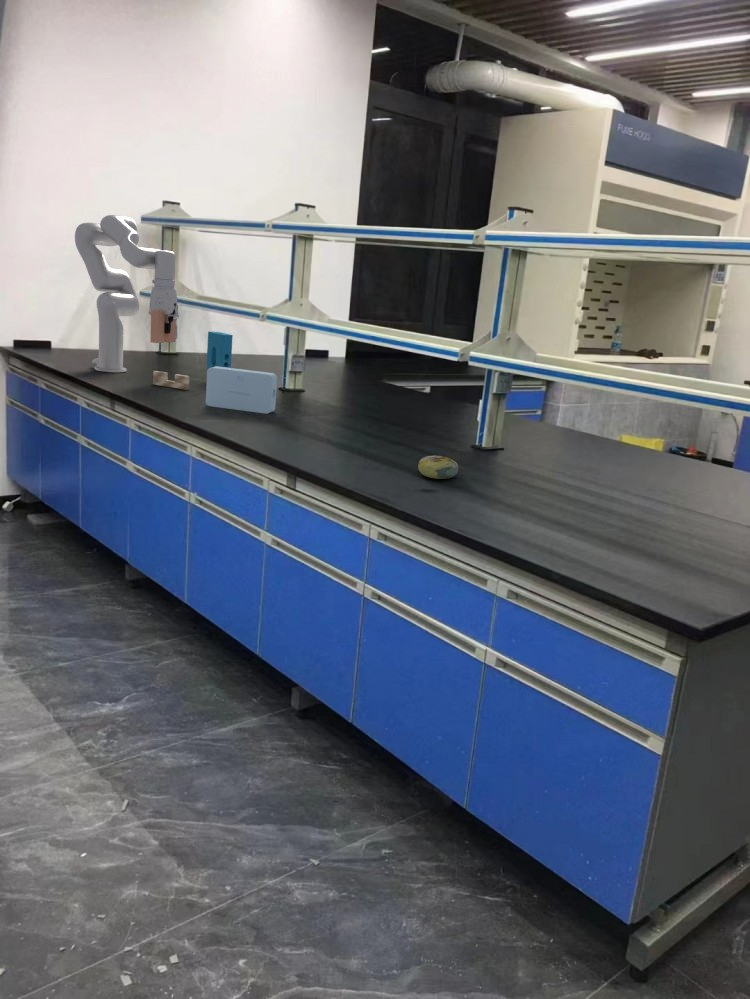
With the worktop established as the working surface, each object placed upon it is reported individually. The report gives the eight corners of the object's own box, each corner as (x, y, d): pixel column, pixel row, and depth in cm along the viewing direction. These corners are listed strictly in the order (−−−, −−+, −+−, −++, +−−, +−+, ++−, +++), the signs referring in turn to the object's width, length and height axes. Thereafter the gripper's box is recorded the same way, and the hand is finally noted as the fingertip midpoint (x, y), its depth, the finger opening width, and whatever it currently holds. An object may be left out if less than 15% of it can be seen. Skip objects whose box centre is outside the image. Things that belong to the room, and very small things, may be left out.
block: (230, 385, 344) (233, 335, 339) (220, 385, 341) (222, 334, 336) (215, 380, 353) (218, 331, 348) (205, 380, 350) (207, 331, 344)
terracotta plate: (150, 342, 326) (151, 310, 323) (168, 341, 337) (169, 310, 334) (156, 343, 325) (157, 311, 322) (175, 341, 336) (176, 310, 333)
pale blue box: (204, 406, 291) (206, 367, 288) (211, 404, 297) (212, 365, 293) (269, 414, 287) (272, 375, 284) (274, 412, 293) (277, 373, 290)
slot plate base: (153, 384, 327) (153, 371, 325) (155, 383, 328) (156, 370, 327) (186, 389, 322) (186, 376, 320) (188, 389, 323) (189, 376, 322)
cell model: (414, 471, 215) (418, 441, 227) (418, 495, 219) (422, 464, 231) (455, 468, 213) (457, 437, 224) (458, 492, 217) (461, 461, 229)
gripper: (140, 281, 324) (139, 330, 329) (176, 285, 319) (175, 335, 324) (152, 282, 331) (151, 330, 336) (188, 286, 326) (186, 334, 331)
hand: (163, 332), depth 330 cm, fingers closed on terracotta plate, 3 cm apart
